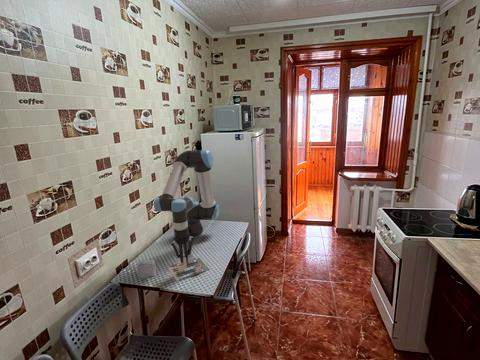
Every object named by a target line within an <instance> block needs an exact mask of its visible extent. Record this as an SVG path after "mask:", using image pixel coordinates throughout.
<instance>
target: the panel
mask: <svg viewBox="0 0 480 360" xmlns="http://www.w3.org/2000/svg"><path fill="white" fill-rule="evenodd" d="M195 260H196V261H195ZM179 263H180V262H178V263H175V264H172V265H170V266H169V267H168V270H169V271H170V273H171V275H172V277H173V278H174V280H175V281H176V282H178V281H179V282H180V281H183V280H185V279H189V278H192V277H194V276H195V277H196V276H197V275H201V274H203V273H206V272H208V271H210V270H211V269H210V268H209V267H208V266H207V265H206V263H204V261H203V260H202V259H201V258H200V257H198V258H196V257H194V262H193V263H190V264H189V263H187V268H190V269H188V270H185V271H184V272H181V273H179V272H178V268H177V267H175V266H177V264H179ZM198 263H199V264H200V265H201V267H202V272H199V273H196V272H195V268H194V265H195V264H198ZM174 267H175V268H174ZM191 267H193V268H191ZM187 268H186V269H187ZM203 269H204V270H203ZM177 272H178V273H177ZM194 272H195V273H194ZM191 273H193V274H191ZM187 274H190V275H187ZM184 275H187V276H184ZM182 276H184V277H182ZM181 277H182V278H181Z"/></svg>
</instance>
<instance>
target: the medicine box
mask: <svg viewBox="0 0 480 360" xmlns="http://www.w3.org/2000/svg"><path fill="white" fill-rule="evenodd" d="M137 266H138V267H137V268H138V274H139V279H151V277H154V276H155V275H156V273H157V266H156V260H155V259H145V260H144V259H143V260H140V262H139V263H138V265H137Z"/></svg>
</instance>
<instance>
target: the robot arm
mask: <svg viewBox="0 0 480 360" xmlns="http://www.w3.org/2000/svg"><path fill="white" fill-rule="evenodd" d="M171 166H172V168H171V172H170V175H169V176H168V180H167V182H166V184H165V187H164V188H163V191H162V194H161V196H160V197H158V198H155V199H154V201H153V209H154V210H155V211H156V212H171V214H172V222H173V223H172V224H173V232H174V234H173V235H174V239H173V241H171V242H169V243H170V245H171V246H172V247H173V251H174V253H175V255H176V257H177V259H180V263H183V264H184V269H187V264H188V262H187V261H188V255H190V254H191V253H192V246H193V243H194V239H195V238H194V237H195V236H199V235H202V234H203V233H204V226H203V225H202V223H201V220H204V221H216V220H217V219H218V218H219V214H220V205H219V204H217V201H216V200H215V199H214V193H213V188H212V187H213V186H212V180H211V173H210V172H211V170H212V168H213V166H214V157H213V153H212V152H211V151H210V150H208V149H207V150H205V149H199V150H198V149H197V150H185V151H182V152H181V153H180V154H178V156H177V157H175V159H174V161H173V162H172V165H171ZM189 168H191V169H192V168H193V169H194V170H193V171H194V172H195V173H197V181H198V187H199V192H200V198H201V202H199V201H197V200H196V201H195V200H194V198H192V197H191V196H184V197H181V198H180V197H179V198H175V197H176V195H177V193H178V191H179V187H180V183H181V181H182V179H183V176H184V173H185V172H187V170H188V169H189ZM202 232H203V233H202ZM176 244H177V245H178V248H177V246H176Z"/></svg>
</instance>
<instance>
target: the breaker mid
mask: <svg viewBox="0 0 480 360" xmlns="http://www.w3.org/2000/svg"><path fill="white" fill-rule="evenodd" d="M178 263H179V264H178ZM178 263H176V264H177V265H176V266H177V267H176V268H178V271H177V272H178V273H181V272H184V271H186V270H185V269H186V268H185V269H184V264H183V263H181V262H178Z"/></svg>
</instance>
